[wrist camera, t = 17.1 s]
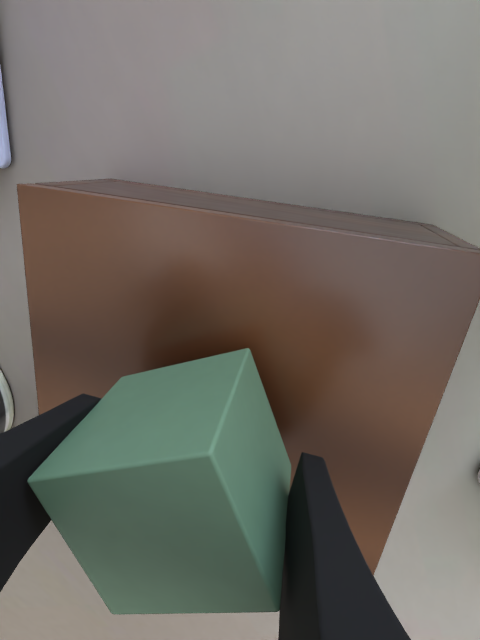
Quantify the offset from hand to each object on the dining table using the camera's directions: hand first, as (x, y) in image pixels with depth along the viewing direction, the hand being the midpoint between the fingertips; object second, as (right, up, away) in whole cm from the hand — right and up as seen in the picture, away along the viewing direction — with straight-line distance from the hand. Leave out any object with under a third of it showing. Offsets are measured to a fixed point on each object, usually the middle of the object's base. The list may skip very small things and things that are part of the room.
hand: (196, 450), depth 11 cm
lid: (+1, +1, +3) cm, 3 cm away
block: (0, +1, +1) cm, 1 cm away
